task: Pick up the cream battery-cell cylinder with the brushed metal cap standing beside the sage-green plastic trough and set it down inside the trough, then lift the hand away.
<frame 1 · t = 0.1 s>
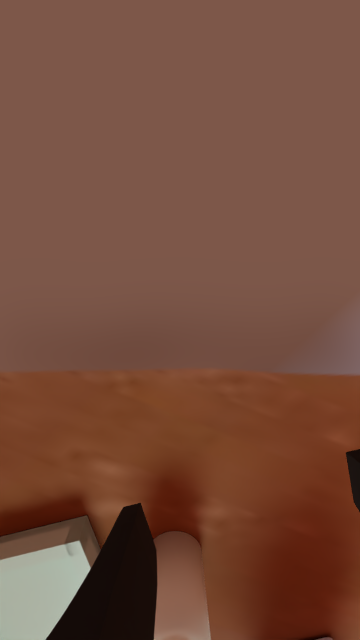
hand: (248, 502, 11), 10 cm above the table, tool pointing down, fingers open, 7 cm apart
trough tray: (44, 602, 24), on the table
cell: (174, 553, 24), on the table
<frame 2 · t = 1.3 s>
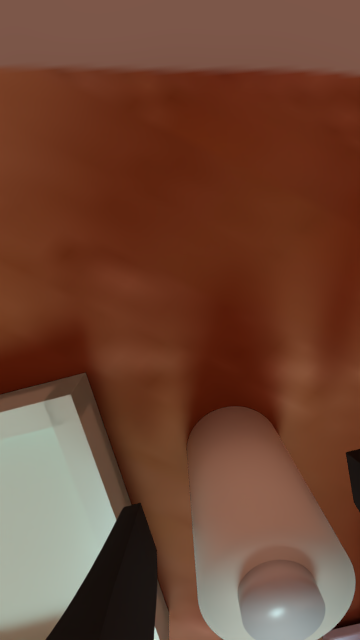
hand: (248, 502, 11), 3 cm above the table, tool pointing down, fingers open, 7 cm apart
trough tray: (14, 533, 15), on the table
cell: (232, 448, 14), on the table
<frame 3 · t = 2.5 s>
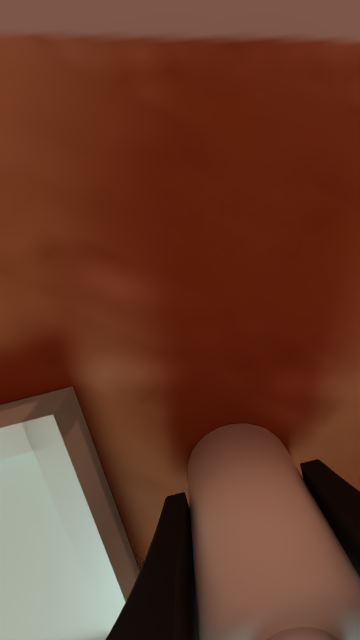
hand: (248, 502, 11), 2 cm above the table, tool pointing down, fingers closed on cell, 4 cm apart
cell: (238, 469, 13), on the table, touching gripper
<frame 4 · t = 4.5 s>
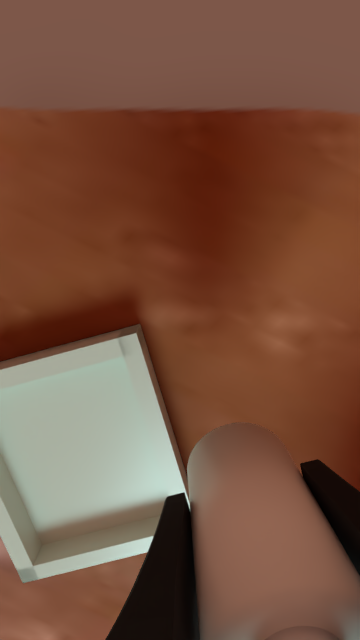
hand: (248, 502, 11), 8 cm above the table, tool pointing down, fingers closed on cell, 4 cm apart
trough tray: (84, 447, 20), on the table
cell: (238, 469, 13), point 7 cm above the table, touching gripper
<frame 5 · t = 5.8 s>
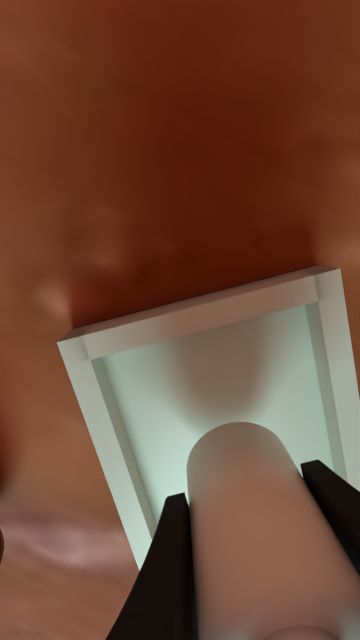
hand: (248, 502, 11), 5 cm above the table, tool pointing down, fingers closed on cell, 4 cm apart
trough tray: (226, 427, 16), on the table
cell: (237, 468, 13), point 3 cm above the table, touching gripper
when the fingers open (4 cm above the table, at t = 6.8 s): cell drops 1 cm, resting on trough tray.
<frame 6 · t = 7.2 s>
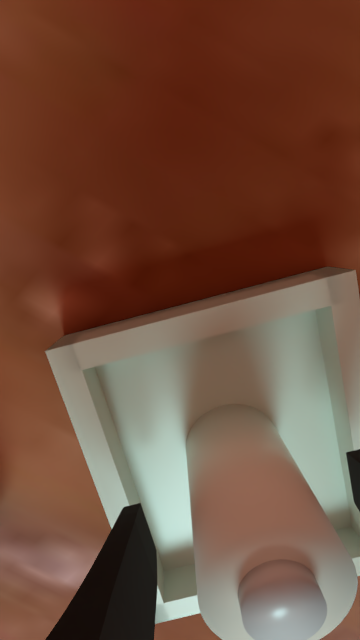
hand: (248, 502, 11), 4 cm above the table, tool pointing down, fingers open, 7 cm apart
trough tray: (229, 440, 14), on the table
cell: (232, 446, 14), point 1 cm above the table, touching trough tray
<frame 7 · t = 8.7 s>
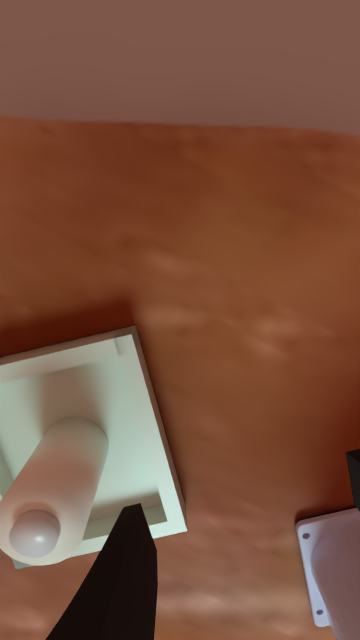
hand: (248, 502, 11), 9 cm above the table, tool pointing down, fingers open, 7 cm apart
trough tray: (78, 441, 21), on the table
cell: (76, 446, 20), point 1 cm above the table, touching trough tray
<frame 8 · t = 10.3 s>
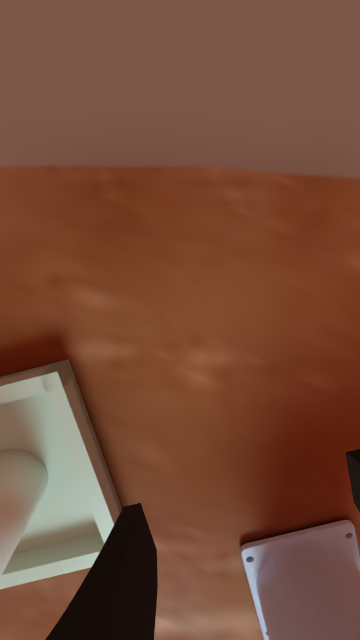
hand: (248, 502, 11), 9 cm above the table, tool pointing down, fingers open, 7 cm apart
trough tray: (20, 471, 21), on the table
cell: (16, 476, 20), point 1 cm above the table, touching trough tray
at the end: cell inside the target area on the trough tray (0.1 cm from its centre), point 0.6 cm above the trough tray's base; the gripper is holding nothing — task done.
